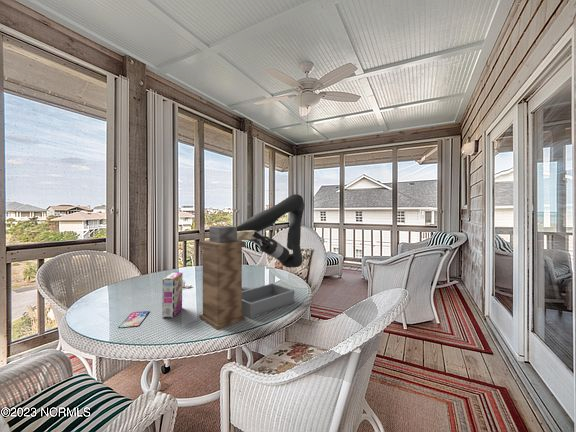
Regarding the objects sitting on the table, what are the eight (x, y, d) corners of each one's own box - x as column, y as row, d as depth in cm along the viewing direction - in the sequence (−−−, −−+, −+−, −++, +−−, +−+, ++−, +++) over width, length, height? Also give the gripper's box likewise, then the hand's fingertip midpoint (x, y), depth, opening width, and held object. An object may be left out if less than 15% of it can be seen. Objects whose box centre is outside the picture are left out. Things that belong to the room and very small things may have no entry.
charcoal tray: (250, 318, 108) (250, 304, 108) (229, 307, 120) (229, 294, 119) (294, 302, 126) (294, 290, 126) (272, 294, 138) (272, 283, 138)
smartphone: (117, 327, 99) (131, 312, 113) (117, 329, 99) (131, 313, 113) (139, 325, 100) (150, 310, 115) (139, 327, 100) (150, 312, 115)
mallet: (219, 243, 102) (219, 227, 101) (209, 241, 107) (209, 226, 107) (260, 239, 116) (260, 225, 115) (249, 237, 121) (249, 224, 121)
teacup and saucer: (193, 287, 150) (193, 280, 150) (181, 291, 143) (181, 284, 143) (184, 285, 155) (184, 278, 154) (172, 288, 148) (172, 281, 148)
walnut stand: (216, 329, 98) (216, 244, 97) (199, 317, 108) (199, 241, 107) (245, 319, 108) (245, 241, 106) (226, 309, 118) (226, 238, 116)
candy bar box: (174, 318, 108) (174, 278, 108) (162, 318, 108) (161, 278, 107) (183, 307, 119) (182, 271, 119) (171, 307, 119) (171, 272, 118)
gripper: (265, 239, 132) (242, 224, 122) (285, 242, 122) (261, 226, 112) (259, 252, 130) (235, 238, 120) (278, 257, 120) (254, 241, 109)
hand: (247, 232), depth 116 cm, fingers open, 8 cm apart
